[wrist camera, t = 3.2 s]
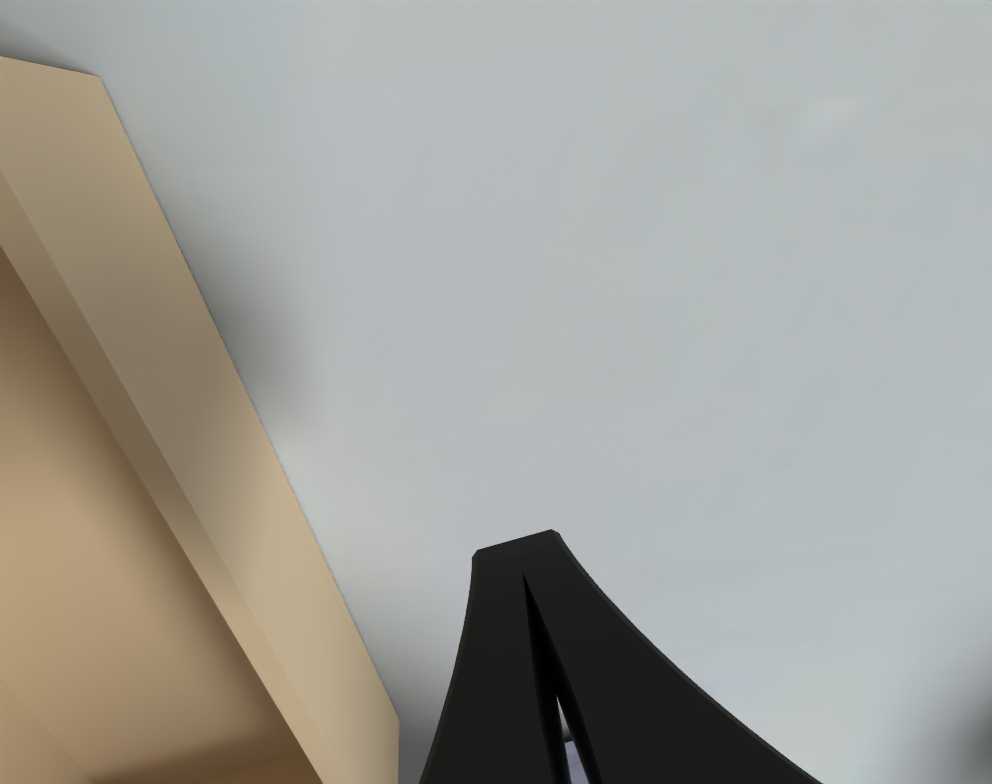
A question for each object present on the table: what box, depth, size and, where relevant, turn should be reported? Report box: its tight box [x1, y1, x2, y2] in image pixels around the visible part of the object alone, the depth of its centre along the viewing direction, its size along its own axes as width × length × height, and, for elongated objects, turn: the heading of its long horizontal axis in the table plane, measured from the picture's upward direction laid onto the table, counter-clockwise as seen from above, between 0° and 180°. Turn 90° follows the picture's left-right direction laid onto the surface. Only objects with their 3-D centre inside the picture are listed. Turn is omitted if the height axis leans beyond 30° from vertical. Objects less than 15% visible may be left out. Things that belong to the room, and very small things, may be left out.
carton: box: [0, 56, 399, 784], centre depth 12 cm, size 18×9×4 cm, turn 13°
